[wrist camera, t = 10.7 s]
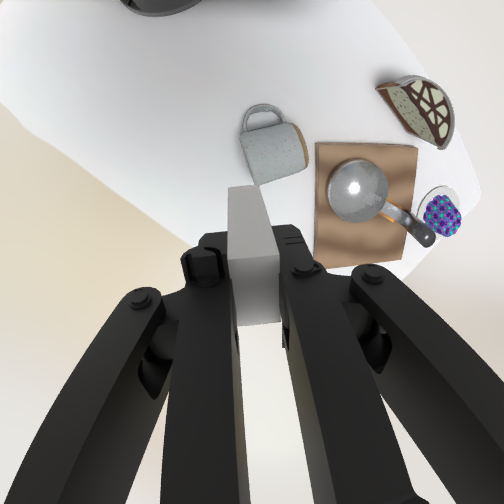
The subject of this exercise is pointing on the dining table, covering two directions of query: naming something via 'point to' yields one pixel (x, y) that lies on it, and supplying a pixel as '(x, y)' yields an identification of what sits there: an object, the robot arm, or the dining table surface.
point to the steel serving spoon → (369, 198)
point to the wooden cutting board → (377, 228)
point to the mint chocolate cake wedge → (421, 108)
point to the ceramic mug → (273, 148)
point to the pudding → (441, 212)
